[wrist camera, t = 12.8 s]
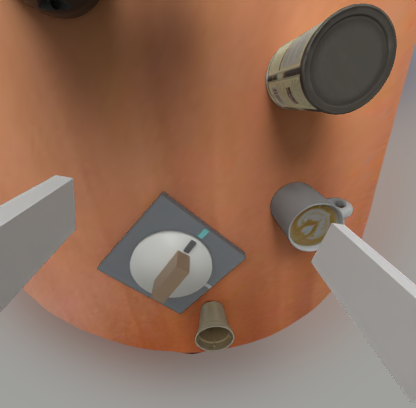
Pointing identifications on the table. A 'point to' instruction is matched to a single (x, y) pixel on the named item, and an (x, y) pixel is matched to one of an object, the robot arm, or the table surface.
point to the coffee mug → (307, 214)
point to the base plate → (179, 221)
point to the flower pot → (213, 328)
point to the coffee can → (335, 62)
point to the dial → (171, 264)
